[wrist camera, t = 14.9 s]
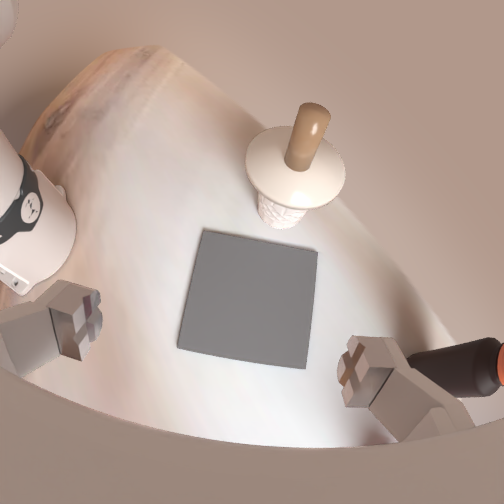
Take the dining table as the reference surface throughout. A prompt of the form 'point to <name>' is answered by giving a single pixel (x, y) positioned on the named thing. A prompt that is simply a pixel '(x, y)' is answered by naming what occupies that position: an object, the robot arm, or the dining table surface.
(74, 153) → the dining table surface
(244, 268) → the slate mat
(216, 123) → the dining table surface
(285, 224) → the white cup
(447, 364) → the bottle
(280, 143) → the lid
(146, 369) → the dining table surface
